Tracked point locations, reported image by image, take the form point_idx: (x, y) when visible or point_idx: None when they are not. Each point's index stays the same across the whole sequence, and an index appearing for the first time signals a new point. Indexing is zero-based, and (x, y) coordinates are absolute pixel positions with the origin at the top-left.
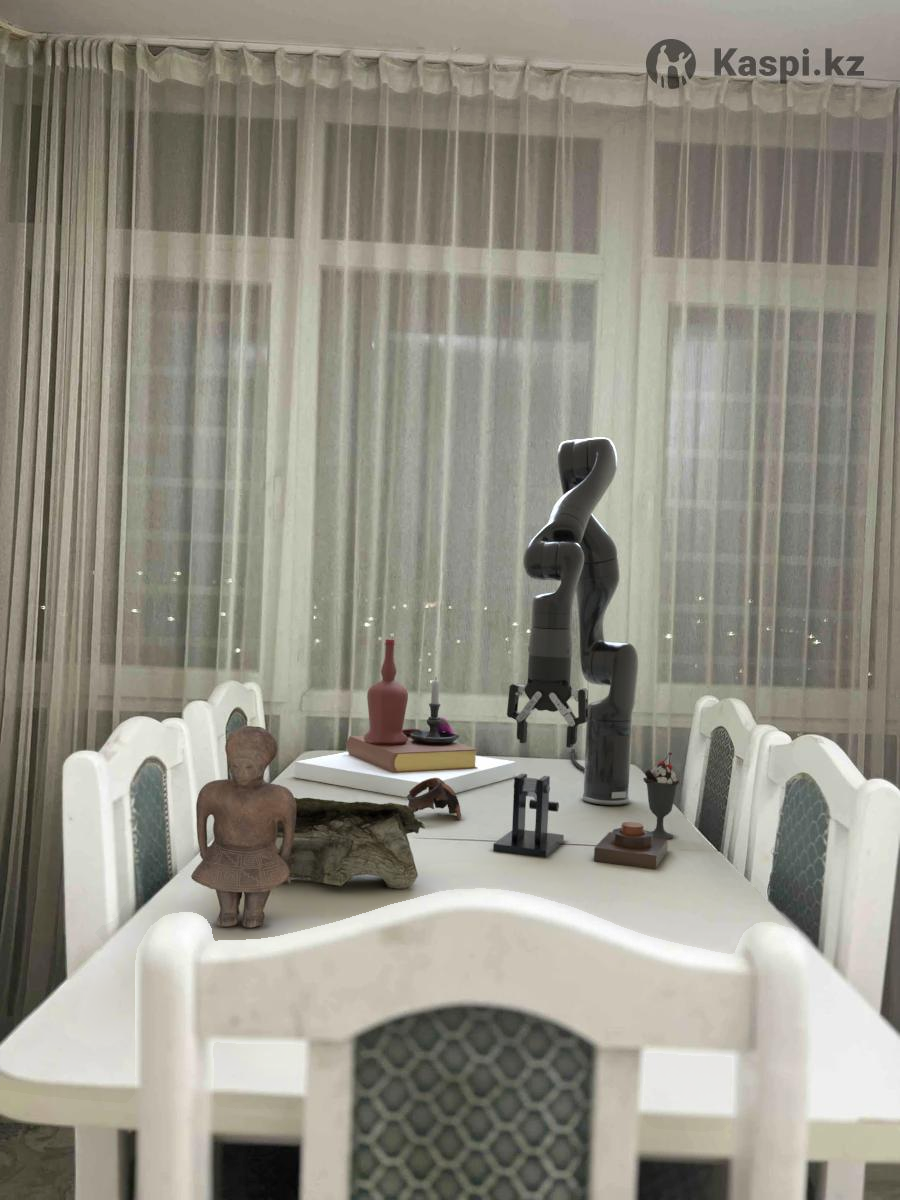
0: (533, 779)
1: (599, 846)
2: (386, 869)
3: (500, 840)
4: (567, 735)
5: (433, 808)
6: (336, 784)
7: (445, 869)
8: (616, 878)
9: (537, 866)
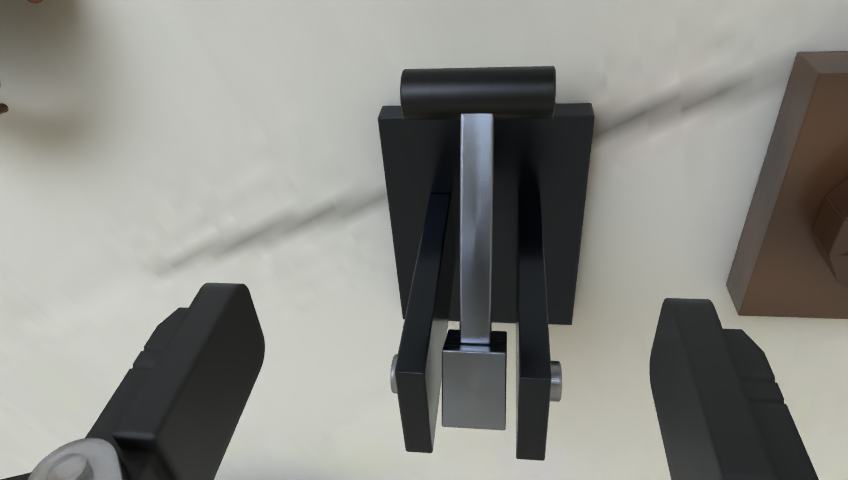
0: (486, 426)
1: (757, 299)
2: None
3: (405, 283)
4: (675, 465)
5: (6, 110)
6: None
7: (379, 449)
8: (790, 394)
9: (565, 376)
